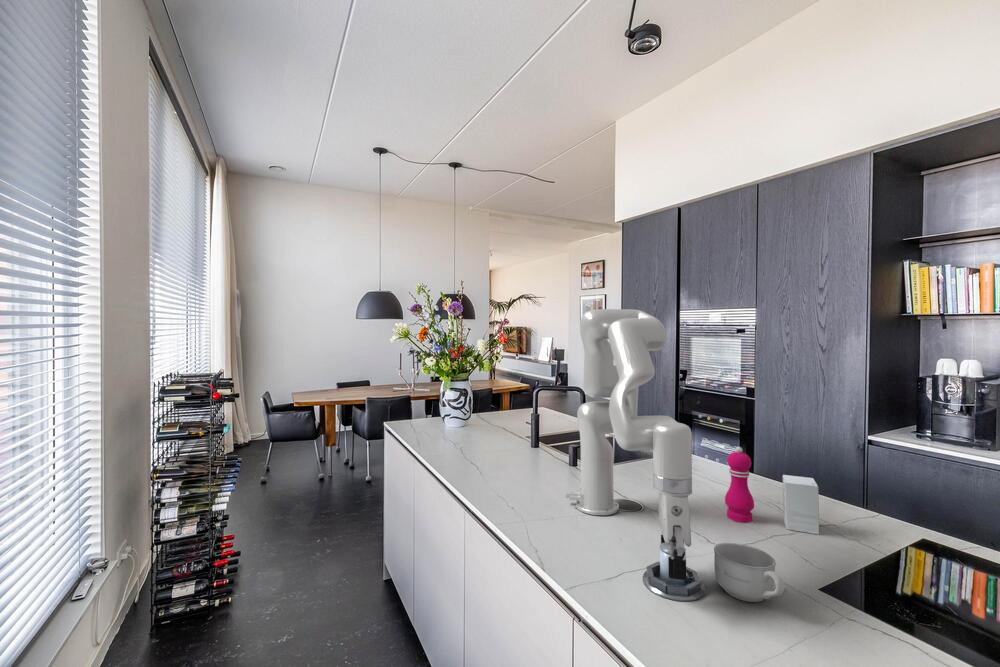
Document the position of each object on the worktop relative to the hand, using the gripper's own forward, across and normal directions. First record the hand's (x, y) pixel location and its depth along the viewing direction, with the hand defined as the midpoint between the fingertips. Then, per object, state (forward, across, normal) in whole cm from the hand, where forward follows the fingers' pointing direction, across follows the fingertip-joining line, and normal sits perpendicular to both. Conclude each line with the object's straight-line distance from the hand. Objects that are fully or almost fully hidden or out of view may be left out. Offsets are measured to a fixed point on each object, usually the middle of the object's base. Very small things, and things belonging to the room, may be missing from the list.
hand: (672, 565), depth 91 cm
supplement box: (+4, +35, -38) cm, 52 cm away
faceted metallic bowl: (+4, 0, 0) cm, 4 cm away
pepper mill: (+4, +38, -24) cm, 45 cm away
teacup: (+4, -2, -14) cm, 15 cm away
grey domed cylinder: (+3, 0, 0) cm, 3 cm away
